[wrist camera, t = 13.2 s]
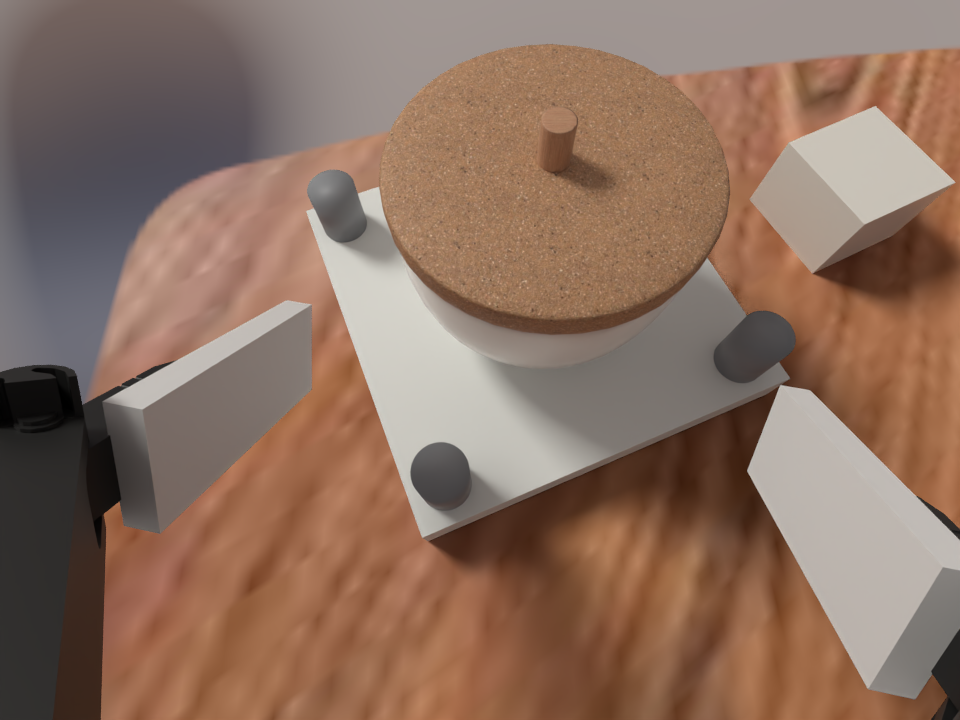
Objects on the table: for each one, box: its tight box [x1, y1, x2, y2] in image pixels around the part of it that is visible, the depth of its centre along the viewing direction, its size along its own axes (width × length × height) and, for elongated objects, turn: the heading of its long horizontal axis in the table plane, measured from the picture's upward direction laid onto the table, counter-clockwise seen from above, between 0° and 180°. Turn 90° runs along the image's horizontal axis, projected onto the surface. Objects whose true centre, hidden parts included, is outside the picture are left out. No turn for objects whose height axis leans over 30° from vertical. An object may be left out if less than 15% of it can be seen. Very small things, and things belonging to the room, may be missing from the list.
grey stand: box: [306, 170, 796, 541], centre depth 23 cm, size 16×16×4 cm
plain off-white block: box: [750, 106, 955, 274], centre depth 25 cm, size 5×5×4 cm
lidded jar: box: [379, 44, 730, 369], centre depth 19 cm, size 11×11×9 cm
